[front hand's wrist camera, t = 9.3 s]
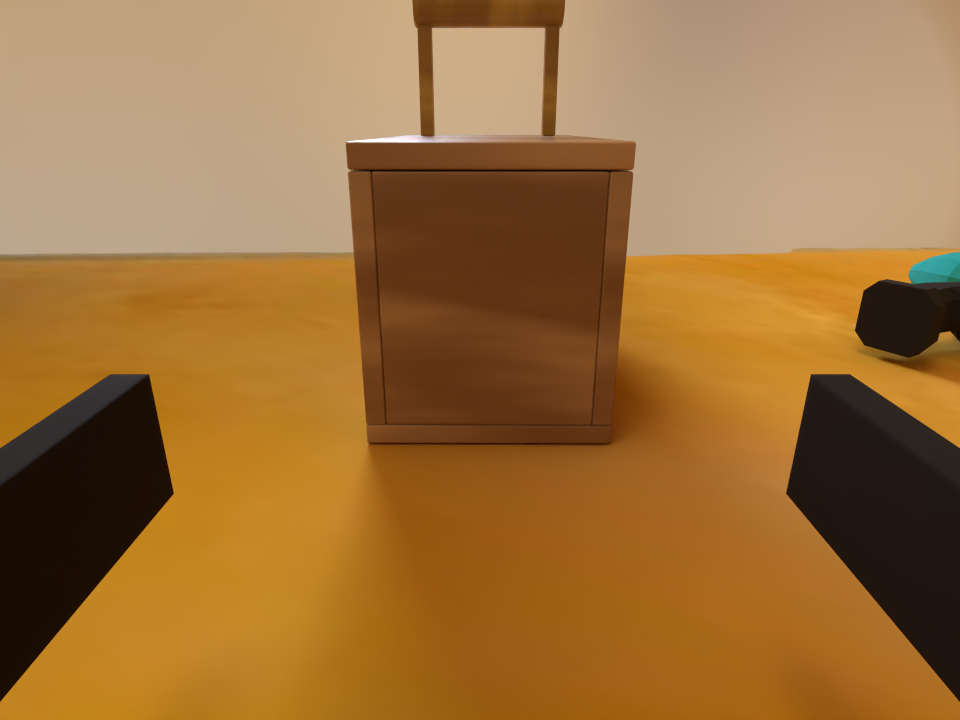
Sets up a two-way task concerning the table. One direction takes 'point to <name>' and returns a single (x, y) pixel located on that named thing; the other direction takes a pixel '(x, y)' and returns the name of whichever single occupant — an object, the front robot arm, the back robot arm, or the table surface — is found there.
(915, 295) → the toy gun
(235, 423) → the table surface
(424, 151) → the lid
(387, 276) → the chest
